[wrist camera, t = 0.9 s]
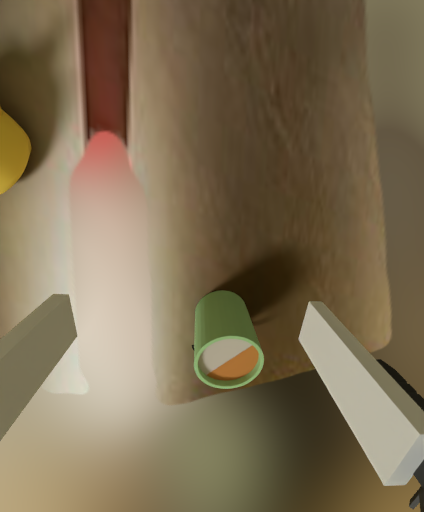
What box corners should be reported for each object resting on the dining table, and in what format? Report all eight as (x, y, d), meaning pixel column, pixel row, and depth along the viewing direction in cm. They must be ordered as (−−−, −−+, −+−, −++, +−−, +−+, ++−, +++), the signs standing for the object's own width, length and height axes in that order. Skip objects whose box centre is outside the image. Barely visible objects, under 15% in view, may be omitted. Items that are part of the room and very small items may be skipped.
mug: (182, 312, 41) (177, 363, 30) (225, 280, 39) (236, 323, 28) (222, 349, 45) (230, 407, 34) (263, 322, 43) (285, 374, 32)
